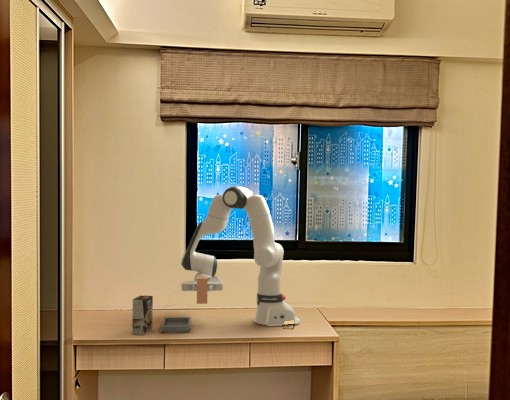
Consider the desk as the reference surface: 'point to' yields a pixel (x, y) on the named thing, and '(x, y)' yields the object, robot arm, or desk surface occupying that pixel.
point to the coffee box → (142, 315)
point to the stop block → (202, 290)
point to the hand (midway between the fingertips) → (202, 289)
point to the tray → (176, 325)
